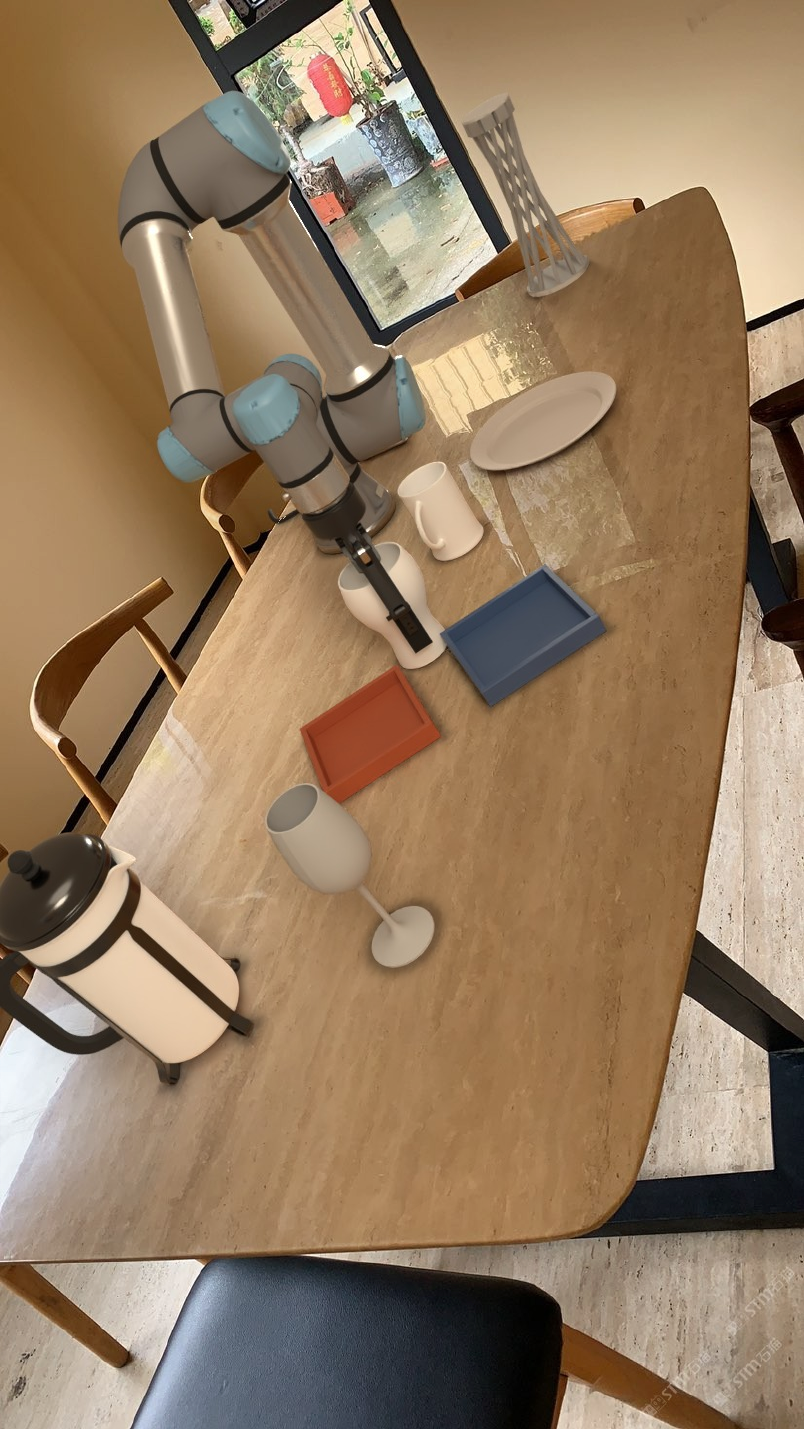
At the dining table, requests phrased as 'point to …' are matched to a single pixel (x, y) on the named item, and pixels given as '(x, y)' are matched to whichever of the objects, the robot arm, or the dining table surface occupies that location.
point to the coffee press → (112, 954)
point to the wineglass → (342, 866)
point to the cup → (374, 611)
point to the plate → (543, 421)
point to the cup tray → (367, 734)
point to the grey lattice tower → (524, 197)
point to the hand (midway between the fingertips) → (411, 628)
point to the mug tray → (521, 633)
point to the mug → (440, 511)
